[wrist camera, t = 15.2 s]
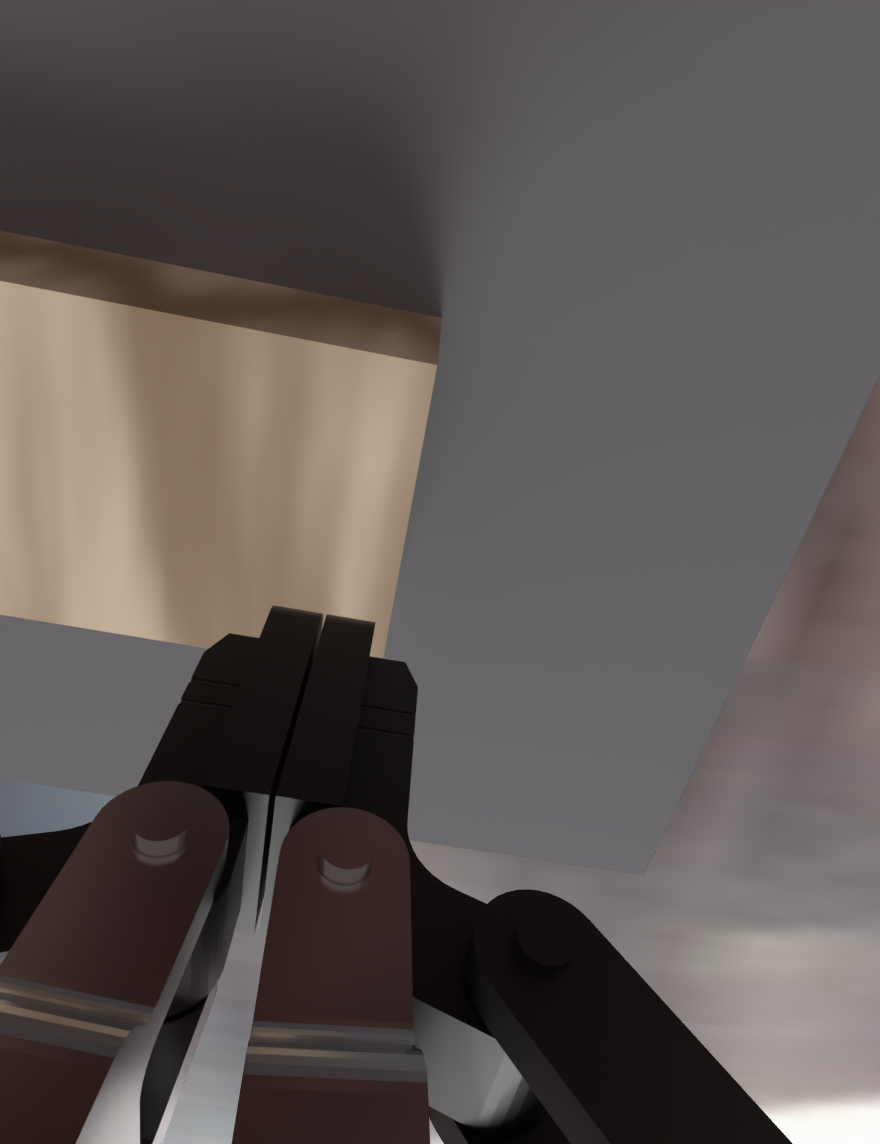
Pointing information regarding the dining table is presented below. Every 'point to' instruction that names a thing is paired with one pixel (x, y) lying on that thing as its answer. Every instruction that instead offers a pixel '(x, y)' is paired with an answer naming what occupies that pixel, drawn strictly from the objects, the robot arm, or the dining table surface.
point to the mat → (497, 347)
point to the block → (200, 446)
